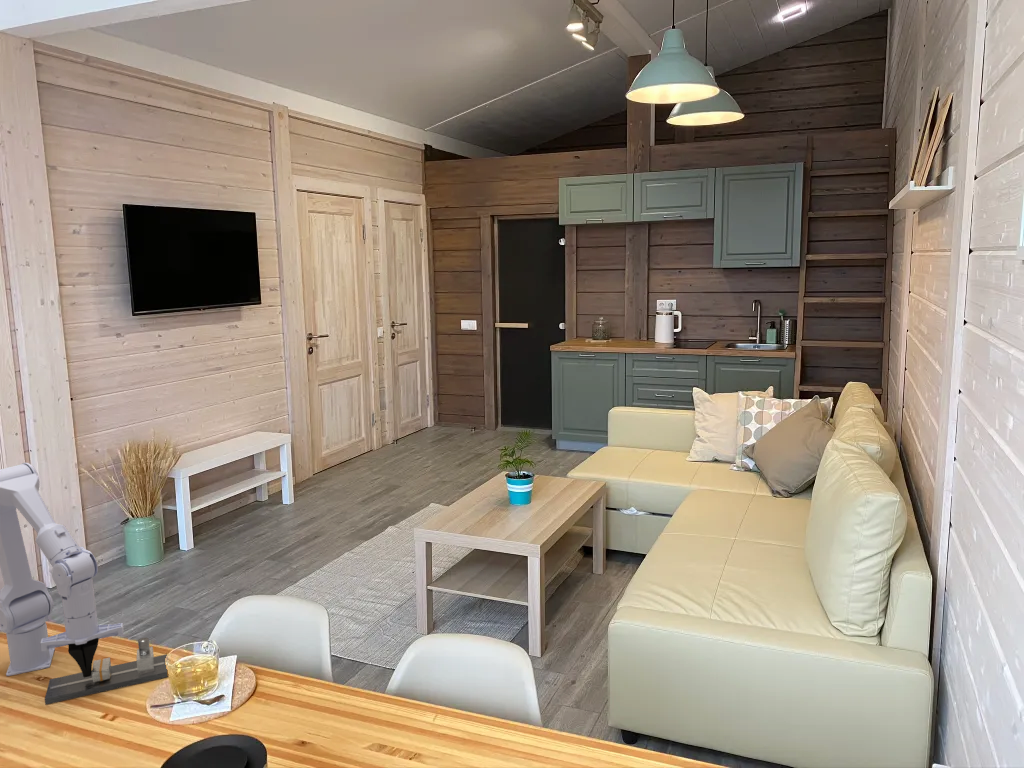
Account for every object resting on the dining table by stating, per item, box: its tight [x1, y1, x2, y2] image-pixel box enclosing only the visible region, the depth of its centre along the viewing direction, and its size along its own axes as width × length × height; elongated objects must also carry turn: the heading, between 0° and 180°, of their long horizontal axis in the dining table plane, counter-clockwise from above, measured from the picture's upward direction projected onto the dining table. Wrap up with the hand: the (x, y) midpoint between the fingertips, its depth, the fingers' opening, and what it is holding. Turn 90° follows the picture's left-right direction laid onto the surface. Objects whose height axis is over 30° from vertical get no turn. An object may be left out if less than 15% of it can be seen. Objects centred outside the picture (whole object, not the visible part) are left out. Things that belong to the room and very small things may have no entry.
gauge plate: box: [44, 637, 169, 706], centre depth 157 cm, size 8×22×7 cm, turn 115°
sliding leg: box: [92, 657, 112, 682], centre depth 157 cm, size 5×3×2 cm, turn 25°
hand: (87, 674), depth 156 cm, fingers closed
